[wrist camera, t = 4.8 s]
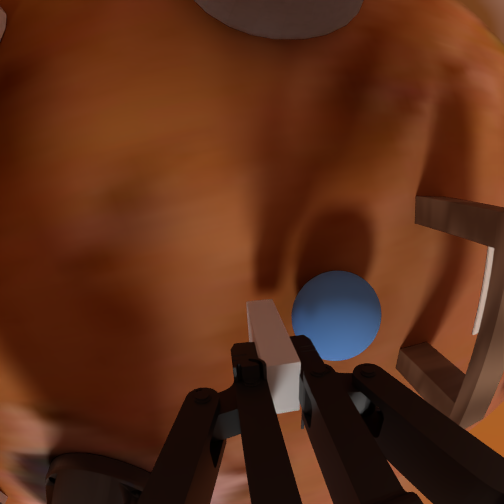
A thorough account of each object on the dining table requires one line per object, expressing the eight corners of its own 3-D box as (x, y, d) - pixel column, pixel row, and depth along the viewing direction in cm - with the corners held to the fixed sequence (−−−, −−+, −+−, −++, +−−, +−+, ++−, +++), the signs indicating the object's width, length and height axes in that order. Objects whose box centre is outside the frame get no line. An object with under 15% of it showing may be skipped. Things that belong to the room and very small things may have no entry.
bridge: (422, 360, 24) (482, 418, 15) (395, 368, 24) (454, 433, 15) (444, 196, 21) (537, 215, 12) (415, 196, 20) (513, 214, 11)
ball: (278, 366, 19) (319, 328, 23) (360, 387, 15) (389, 339, 19) (268, 284, 17) (315, 257, 22) (363, 294, 14) (391, 262, 18)
